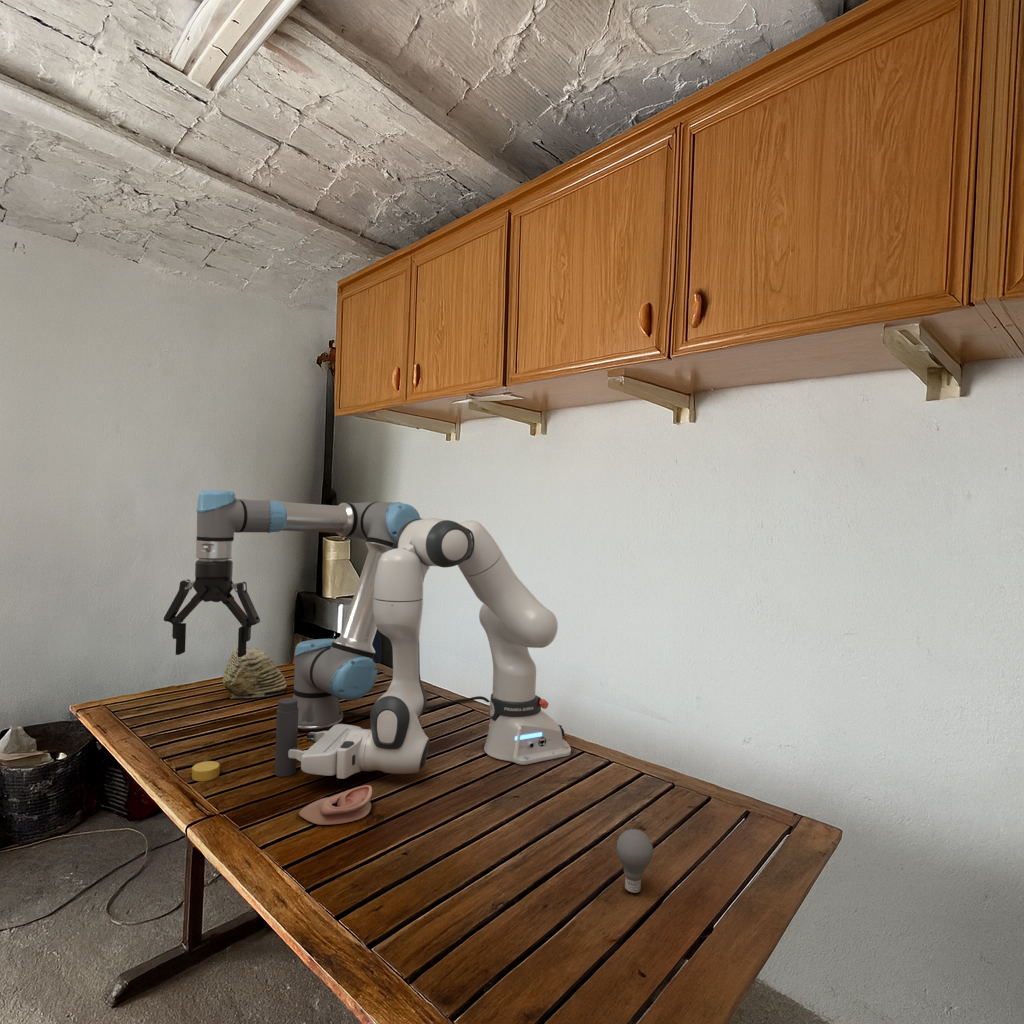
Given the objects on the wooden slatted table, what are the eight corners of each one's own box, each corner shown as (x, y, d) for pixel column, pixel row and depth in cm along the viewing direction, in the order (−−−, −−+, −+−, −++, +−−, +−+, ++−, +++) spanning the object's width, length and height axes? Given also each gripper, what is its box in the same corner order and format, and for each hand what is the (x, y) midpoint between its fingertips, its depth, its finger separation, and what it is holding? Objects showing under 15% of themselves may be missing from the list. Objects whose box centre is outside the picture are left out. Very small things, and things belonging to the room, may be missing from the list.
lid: (189, 782, 138) (189, 772, 138) (194, 771, 143) (194, 762, 143) (217, 780, 139) (217, 770, 139) (221, 769, 145) (221, 760, 145)
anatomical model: (291, 800, 123) (320, 775, 134) (290, 820, 123) (320, 794, 134) (354, 810, 120) (379, 784, 132) (353, 830, 121) (378, 803, 132)
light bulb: (610, 879, 108) (613, 822, 108) (644, 879, 109) (647, 822, 109) (619, 902, 102) (622, 840, 102) (655, 901, 103) (658, 840, 103)
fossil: (218, 695, 195) (220, 647, 195) (278, 685, 208) (279, 640, 207) (228, 703, 189) (230, 653, 188) (289, 692, 201) (290, 645, 201)
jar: (295, 767, 148) (298, 696, 147) (296, 775, 143) (299, 702, 143) (274, 769, 146) (276, 698, 146) (274, 777, 142) (277, 704, 141)
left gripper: (148, 558, 137) (145, 656, 137) (264, 563, 137) (260, 661, 137) (166, 555, 144) (163, 648, 144) (276, 560, 144) (273, 652, 145)
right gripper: (372, 719, 153) (317, 715, 155) (341, 753, 133) (278, 747, 134) (371, 745, 154) (317, 740, 155) (340, 782, 133) (277, 777, 135)
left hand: (211, 654), depth 141 cm, fingers open, 13 cm apart
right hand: (299, 744), depth 145 cm, fingers open, 8 cm apart
